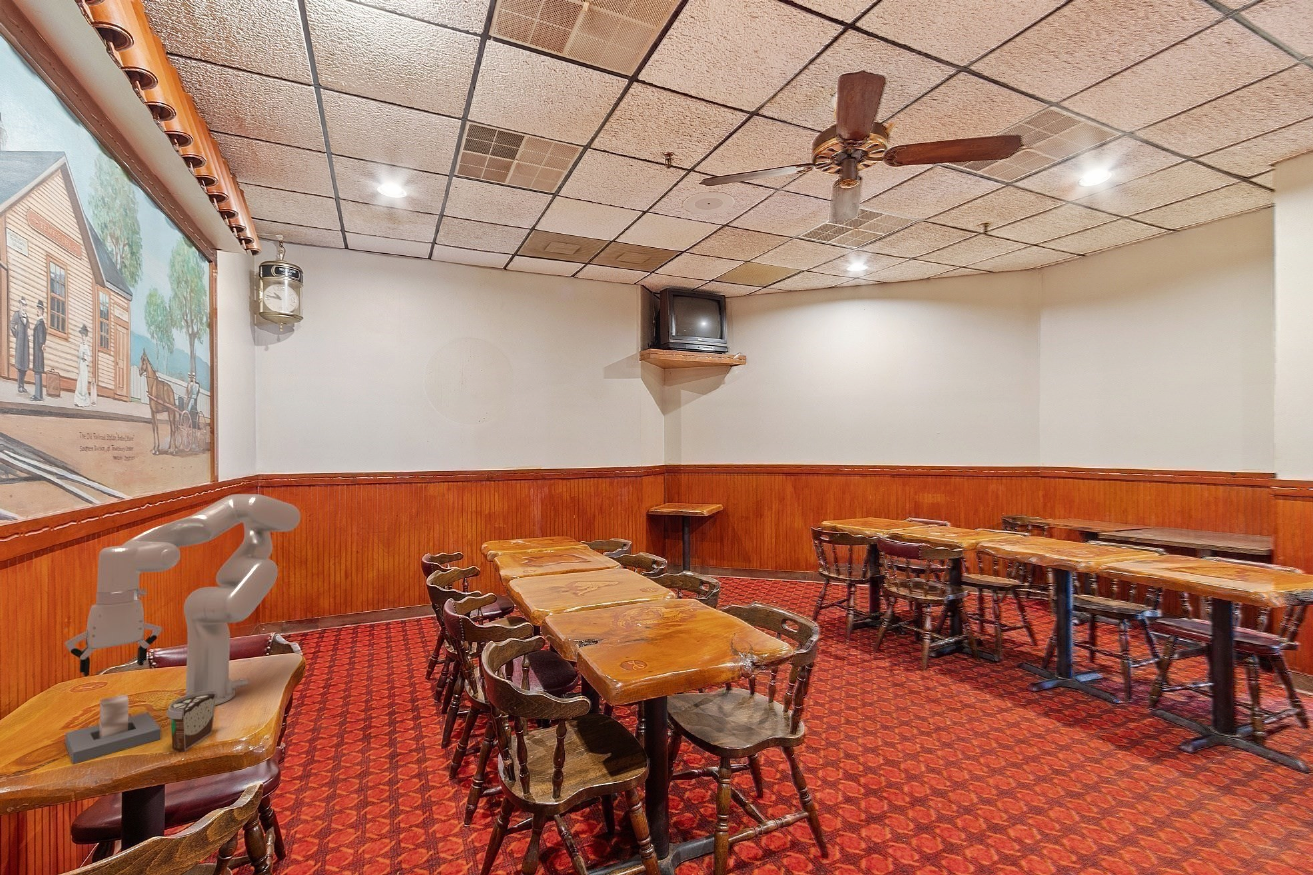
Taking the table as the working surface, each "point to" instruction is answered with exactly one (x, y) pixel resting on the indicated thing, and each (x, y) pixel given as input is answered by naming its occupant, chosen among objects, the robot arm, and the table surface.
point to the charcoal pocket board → (111, 738)
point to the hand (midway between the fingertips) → (113, 669)
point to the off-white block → (113, 715)
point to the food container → (191, 719)
